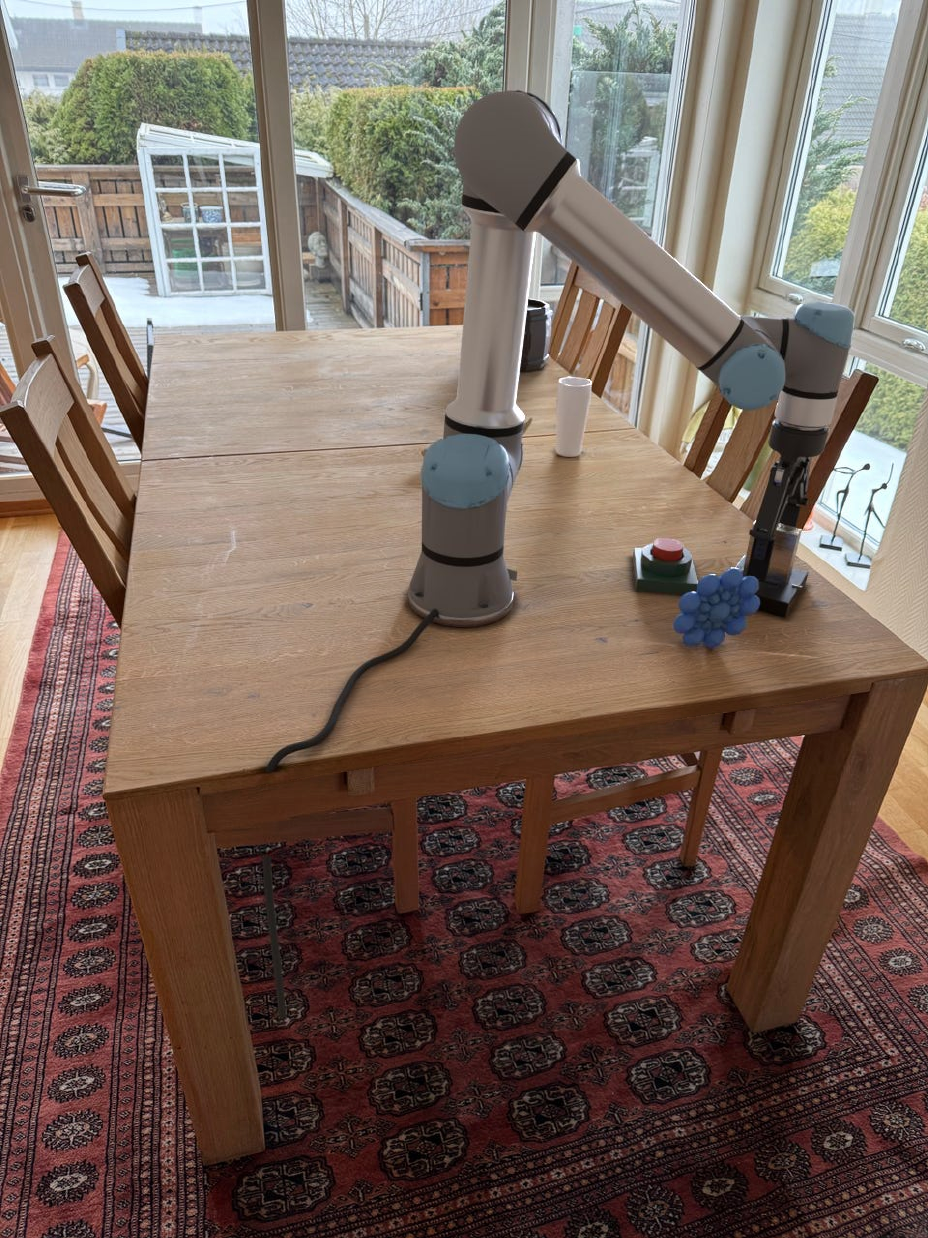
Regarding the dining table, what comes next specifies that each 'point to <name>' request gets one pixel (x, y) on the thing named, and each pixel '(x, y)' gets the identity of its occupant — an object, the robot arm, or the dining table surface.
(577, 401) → the drinking glass
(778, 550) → the silver rectangular block
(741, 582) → the blue flower
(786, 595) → the black stand base
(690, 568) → the button housing
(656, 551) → the button
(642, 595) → the dining table surface
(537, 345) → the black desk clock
